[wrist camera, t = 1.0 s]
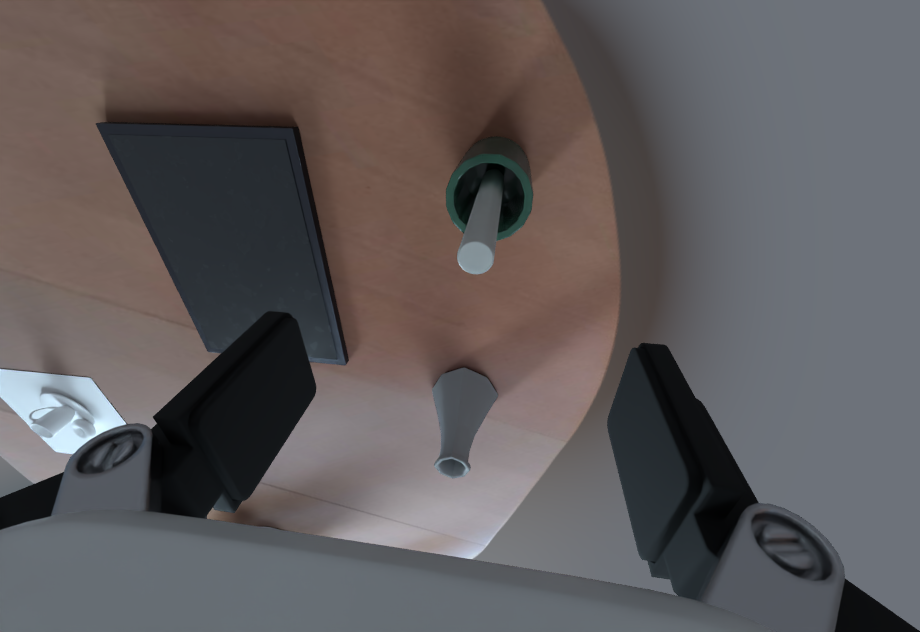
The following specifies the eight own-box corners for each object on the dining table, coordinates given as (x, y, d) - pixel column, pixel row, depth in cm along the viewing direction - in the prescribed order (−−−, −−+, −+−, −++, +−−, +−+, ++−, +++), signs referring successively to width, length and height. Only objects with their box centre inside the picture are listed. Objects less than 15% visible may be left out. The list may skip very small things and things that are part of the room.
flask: (465, 420, 45) (453, 498, 37) (421, 387, 43) (398, 462, 35) (509, 394, 42) (507, 474, 33) (464, 356, 39) (449, 432, 31)
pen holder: (460, 135, 27) (445, 152, 22) (533, 137, 27) (538, 155, 21) (460, 207, 30) (446, 239, 25) (525, 210, 30) (527, 243, 24)
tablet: (105, 121, 30) (93, 123, 29) (298, 126, 28) (291, 128, 28) (213, 347, 44) (207, 352, 43) (348, 360, 42) (345, 366, 41)
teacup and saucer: (110, 432, 58) (85, 454, 54) (66, 427, 59) (39, 449, 55) (77, 393, 53) (47, 414, 49) (30, 388, 54) (-2, 409, 50)
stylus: (484, 164, 28) (457, 239, 15) (505, 165, 28) (494, 241, 15) (483, 186, 29) (457, 273, 16) (503, 186, 28) (492, 276, 16)
